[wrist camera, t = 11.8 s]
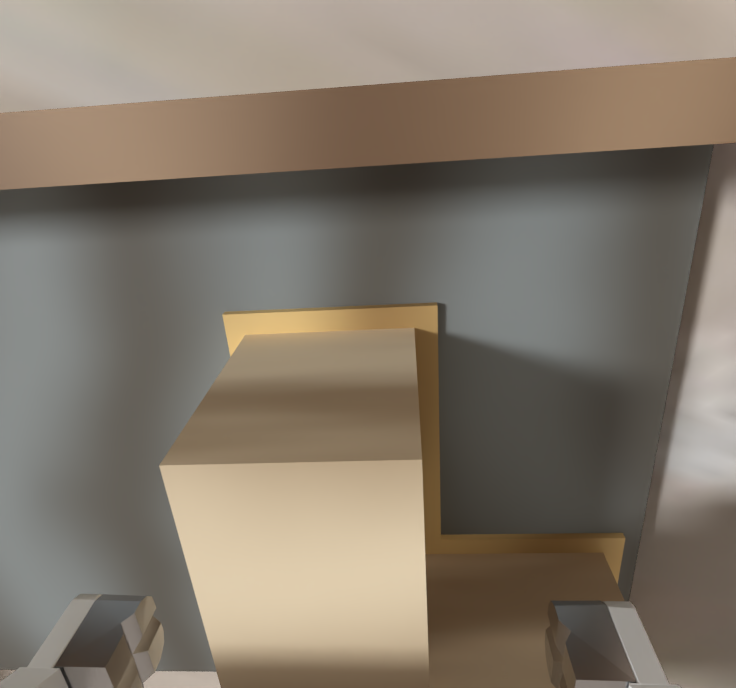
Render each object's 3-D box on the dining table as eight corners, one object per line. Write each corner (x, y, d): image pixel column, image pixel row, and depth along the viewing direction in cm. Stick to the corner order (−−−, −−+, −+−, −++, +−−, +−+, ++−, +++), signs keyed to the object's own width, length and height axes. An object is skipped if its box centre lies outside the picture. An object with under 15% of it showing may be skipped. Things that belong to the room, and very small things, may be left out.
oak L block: (244, 334, 13) (159, 465, 8) (637, 318, 12) (781, 451, 7) (300, 648, 17) (264, 845, 13) (588, 649, 17) (659, 858, 12)
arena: (711, 65, 11) (914, 43, 6) (608, 657, 18) (672, 829, 14) (-481, 154, 13) (-913, 182, 9) (-143, 652, 20) (-287, 799, 16)
